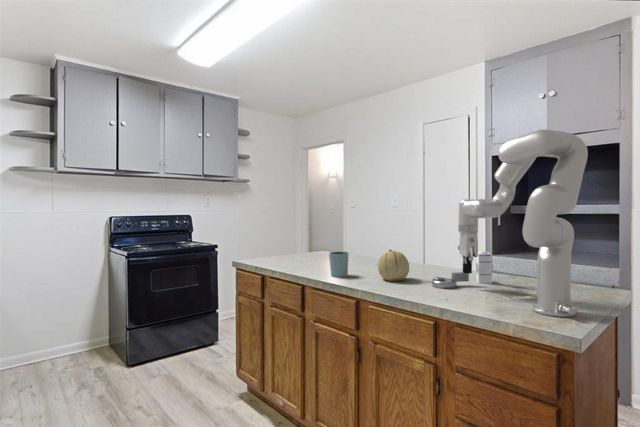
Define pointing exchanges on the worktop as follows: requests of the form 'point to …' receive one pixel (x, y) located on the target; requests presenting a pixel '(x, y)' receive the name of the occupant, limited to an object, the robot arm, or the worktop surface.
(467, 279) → the silver door handle
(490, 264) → the syrup box
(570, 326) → the worktop surface
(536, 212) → the robot arm
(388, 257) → the cantaloupe
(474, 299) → the worktop surface
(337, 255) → the drinking glass
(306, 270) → the worktop surface
